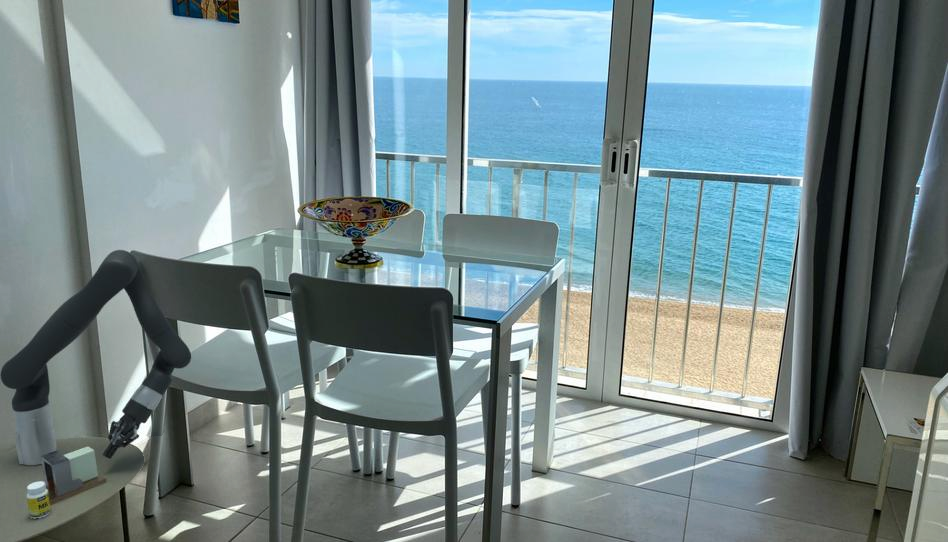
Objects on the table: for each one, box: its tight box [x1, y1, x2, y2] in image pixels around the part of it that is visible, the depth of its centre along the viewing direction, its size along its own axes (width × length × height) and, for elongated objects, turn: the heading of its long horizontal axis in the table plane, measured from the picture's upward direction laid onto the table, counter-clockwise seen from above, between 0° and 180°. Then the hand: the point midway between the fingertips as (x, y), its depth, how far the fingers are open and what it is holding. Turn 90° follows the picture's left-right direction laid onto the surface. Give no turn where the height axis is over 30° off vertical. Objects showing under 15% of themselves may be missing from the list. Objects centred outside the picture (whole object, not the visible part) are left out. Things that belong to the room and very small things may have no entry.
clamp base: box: [41, 449, 107, 506], centre depth 195 cm, size 15×9×10 cm, turn 141°
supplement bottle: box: [26, 481, 52, 520], centre depth 182 cm, size 5×5×8 cm
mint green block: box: [63, 446, 99, 482], centre depth 196 cm, size 8×4×8 cm, turn 141°
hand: (106, 457), depth 202 cm, fingers closed
